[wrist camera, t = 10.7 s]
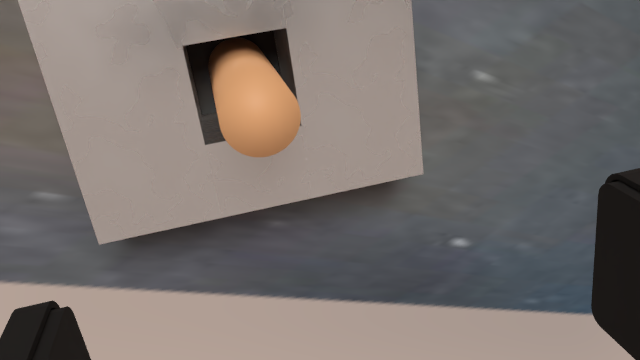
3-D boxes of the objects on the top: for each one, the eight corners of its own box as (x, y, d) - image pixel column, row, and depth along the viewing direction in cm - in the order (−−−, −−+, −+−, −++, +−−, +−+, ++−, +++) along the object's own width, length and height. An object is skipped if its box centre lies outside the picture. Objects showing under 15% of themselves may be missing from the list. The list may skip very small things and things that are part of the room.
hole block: (370, -81, 29) (405, -85, 24) (391, 143, 34) (423, 174, 29) (38, -32, 27) (9, -26, 22) (111, 201, 32) (99, 244, 27)
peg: (260, 32, 30) (294, 70, 21) (270, 89, 31) (306, 148, 22) (202, 43, 30) (211, 86, 20) (214, 99, 31) (228, 164, 22)
